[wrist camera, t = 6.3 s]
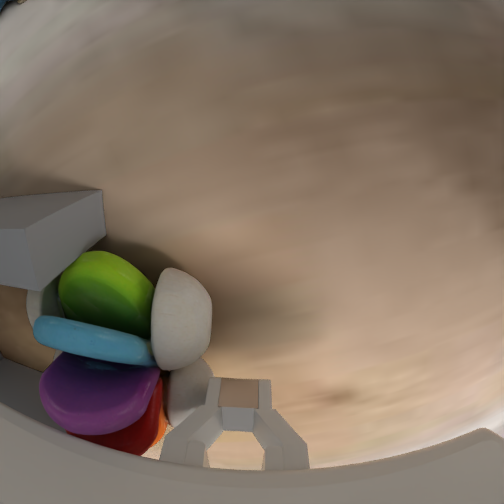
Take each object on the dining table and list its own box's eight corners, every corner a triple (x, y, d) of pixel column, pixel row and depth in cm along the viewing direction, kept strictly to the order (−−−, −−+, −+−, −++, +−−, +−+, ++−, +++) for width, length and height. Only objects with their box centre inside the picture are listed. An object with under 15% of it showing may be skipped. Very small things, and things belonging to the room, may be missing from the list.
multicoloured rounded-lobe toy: (89, 372, 15) (45, 459, 9) (50, 228, 11) (-56, 305, 5) (217, 395, 15) (204, 506, 9) (218, 238, 12) (174, 374, 5)
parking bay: (101, 189, 11) (24, 229, 6) (151, 415, 17) (134, 475, 12) (-57, 207, 11) (-103, 231, 6) (0, 368, 16) (-26, 403, 12)
